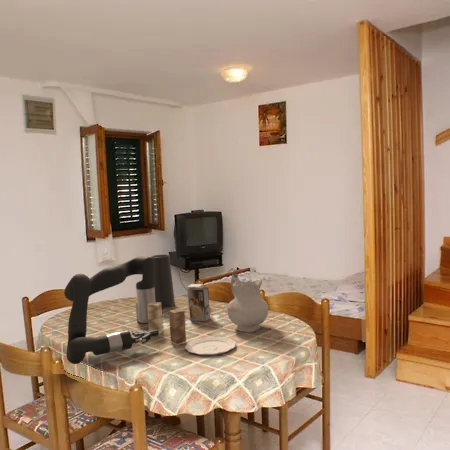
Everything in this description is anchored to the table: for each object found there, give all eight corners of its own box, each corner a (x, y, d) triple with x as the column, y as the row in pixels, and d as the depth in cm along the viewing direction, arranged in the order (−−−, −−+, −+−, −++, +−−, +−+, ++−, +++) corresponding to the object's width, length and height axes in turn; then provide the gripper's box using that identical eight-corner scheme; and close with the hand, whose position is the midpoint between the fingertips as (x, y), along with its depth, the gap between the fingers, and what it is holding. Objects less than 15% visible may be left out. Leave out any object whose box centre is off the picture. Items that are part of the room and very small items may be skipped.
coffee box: (210, 318, 234) (209, 287, 233) (205, 321, 228) (204, 289, 227) (194, 317, 237) (193, 286, 236) (189, 320, 232) (187, 289, 230)
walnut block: (175, 345, 195) (173, 312, 194) (170, 342, 199) (168, 310, 198) (186, 342, 198) (184, 310, 197) (181, 339, 202) (179, 308, 201)
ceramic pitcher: (216, 330, 216) (211, 279, 212) (243, 317, 230) (238, 269, 226) (252, 339, 201) (247, 284, 197) (278, 325, 215) (273, 273, 211)
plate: (195, 361, 176) (195, 357, 176) (179, 345, 195) (178, 342, 195) (244, 351, 184) (244, 347, 184) (223, 337, 203) (223, 333, 203)
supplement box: (205, 305, 260) (204, 283, 259) (200, 309, 253) (199, 286, 252) (193, 305, 262) (191, 283, 261) (188, 308, 255) (186, 286, 254)
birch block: (149, 334, 211) (147, 305, 210) (153, 331, 216) (151, 302, 215) (159, 334, 210) (157, 305, 209) (163, 331, 215) (161, 302, 214)
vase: (179, 303, 267) (176, 254, 265) (161, 309, 257) (158, 258, 255) (164, 300, 276) (162, 253, 274) (146, 305, 266) (143, 256, 264)
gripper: (113, 346, 190) (152, 337, 199) (124, 355, 179) (165, 345, 188) (112, 328, 189) (150, 320, 198) (123, 336, 178) (163, 327, 187)
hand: (157, 332), depth 193 cm, fingers closed
